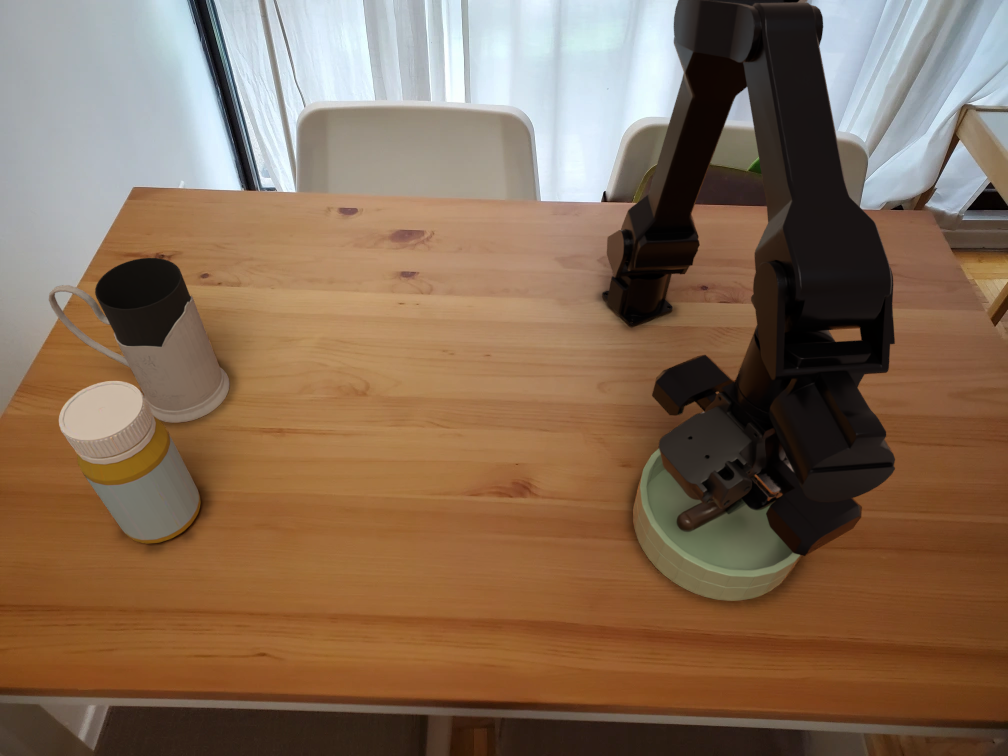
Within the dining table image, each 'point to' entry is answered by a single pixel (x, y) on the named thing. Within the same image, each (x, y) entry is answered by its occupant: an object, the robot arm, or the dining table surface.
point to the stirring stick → (698, 516)
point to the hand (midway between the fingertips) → (723, 502)
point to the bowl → (707, 542)
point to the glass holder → (156, 337)
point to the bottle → (130, 461)
